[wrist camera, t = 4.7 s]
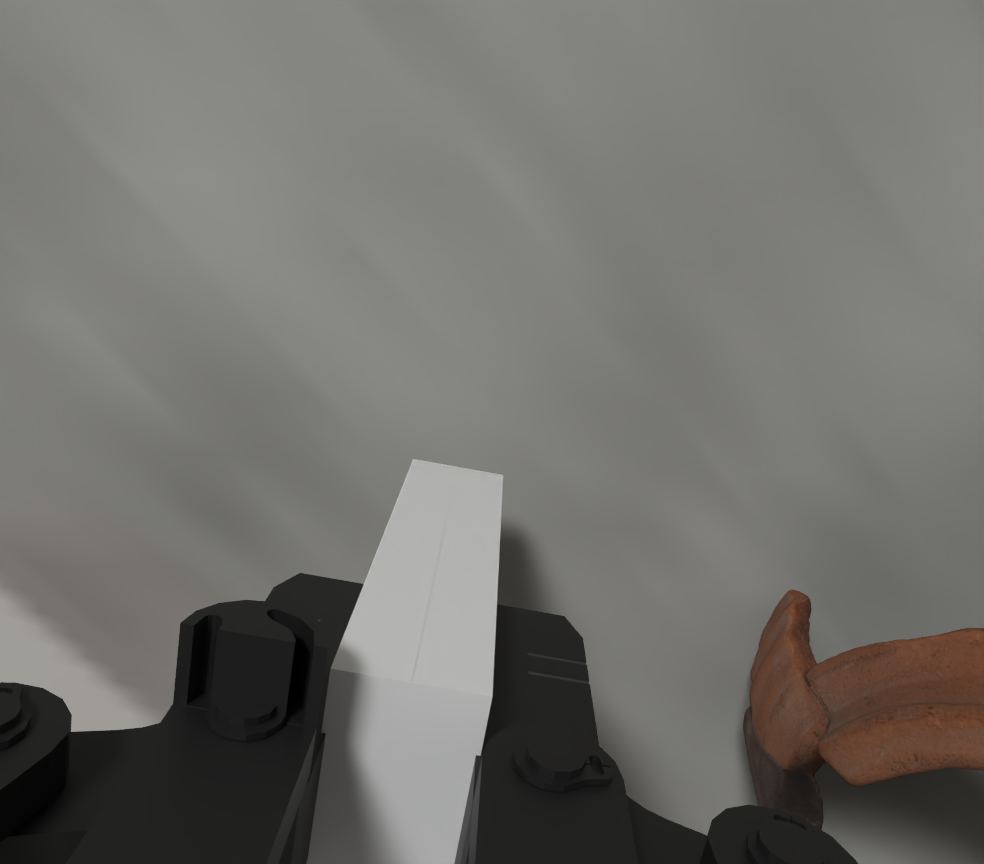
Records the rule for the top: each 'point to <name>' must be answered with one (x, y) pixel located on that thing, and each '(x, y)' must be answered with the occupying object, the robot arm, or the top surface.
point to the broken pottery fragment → (858, 710)
